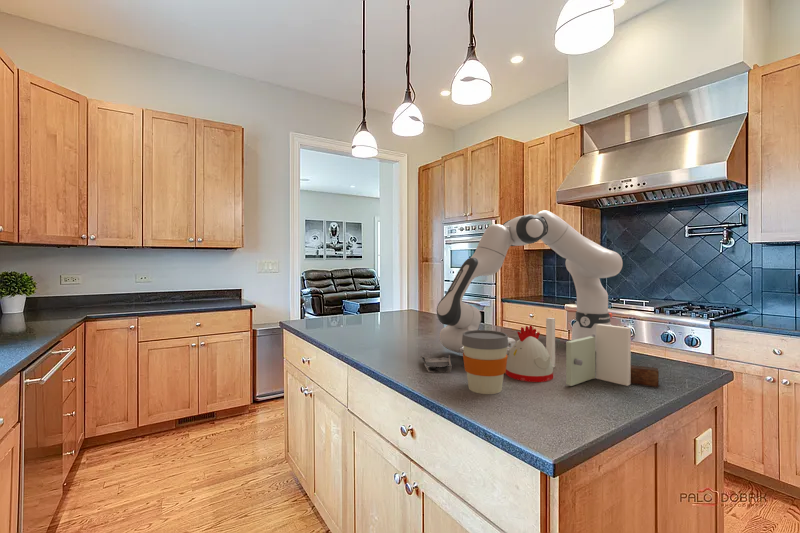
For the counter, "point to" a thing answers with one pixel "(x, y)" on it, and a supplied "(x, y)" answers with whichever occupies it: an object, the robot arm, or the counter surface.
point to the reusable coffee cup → (485, 360)
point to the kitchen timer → (529, 358)
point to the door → (580, 360)
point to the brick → (645, 375)
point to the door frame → (603, 351)
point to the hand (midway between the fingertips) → (510, 351)
